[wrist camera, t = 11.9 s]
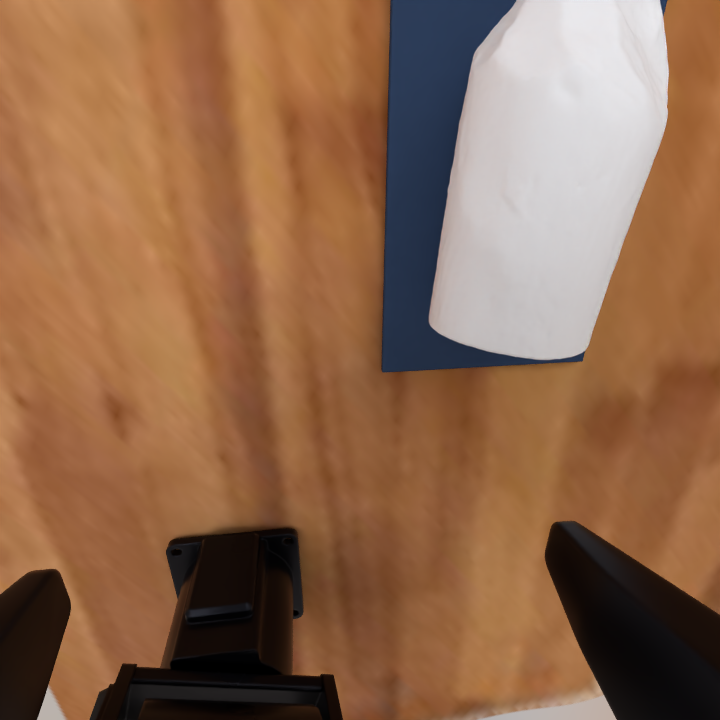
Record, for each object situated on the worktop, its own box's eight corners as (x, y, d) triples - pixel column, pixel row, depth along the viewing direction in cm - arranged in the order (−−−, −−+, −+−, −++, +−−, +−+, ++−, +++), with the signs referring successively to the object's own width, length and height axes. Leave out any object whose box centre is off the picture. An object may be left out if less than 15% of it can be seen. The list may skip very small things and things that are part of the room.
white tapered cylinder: (639, -38, 15) (818, -135, 10) (544, 311, 20) (629, 367, 15) (465, -71, 14) (562, -198, 9) (411, 304, 19) (452, 360, 14)
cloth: (579, 358, 21) (582, 361, 21) (381, 369, 20) (382, 372, 20) (702, -179, 14) (710, -185, 13) (395, -207, 13) (397, -216, 12)
